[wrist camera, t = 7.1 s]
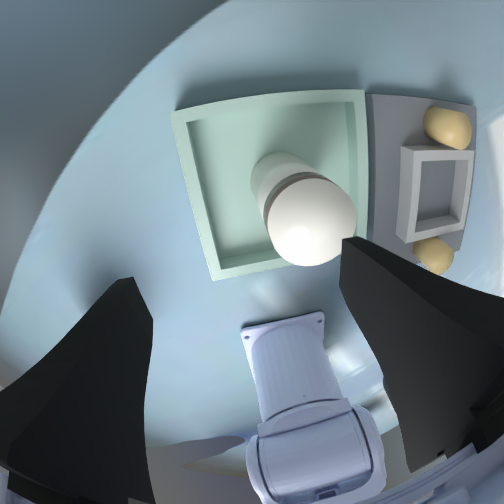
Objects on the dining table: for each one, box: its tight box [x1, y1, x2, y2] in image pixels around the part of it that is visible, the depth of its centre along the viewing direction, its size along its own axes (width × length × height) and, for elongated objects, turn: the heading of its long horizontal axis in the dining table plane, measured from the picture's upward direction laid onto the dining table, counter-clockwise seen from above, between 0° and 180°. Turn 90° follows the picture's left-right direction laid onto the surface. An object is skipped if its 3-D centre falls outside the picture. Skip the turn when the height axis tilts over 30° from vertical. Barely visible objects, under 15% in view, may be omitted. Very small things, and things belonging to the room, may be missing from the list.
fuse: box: [250, 152, 357, 266], centre depth 15 cm, size 4×4×7 cm
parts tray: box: [170, 89, 368, 281], centre depth 17 cm, size 12×12×2 cm
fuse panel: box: [365, 94, 476, 275], centre depth 18 cm, size 15×12×4 cm
